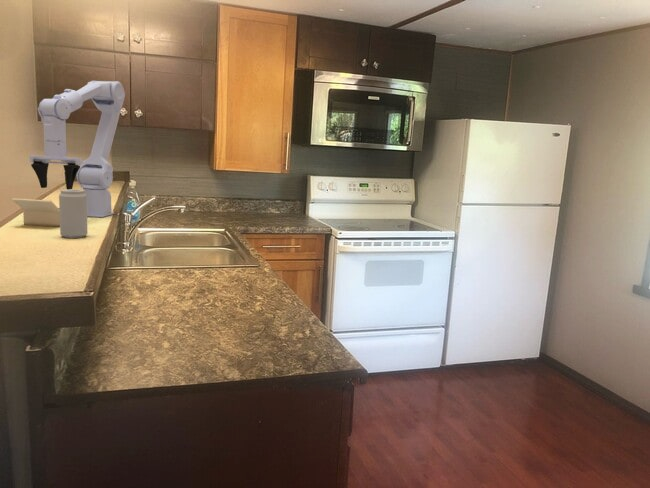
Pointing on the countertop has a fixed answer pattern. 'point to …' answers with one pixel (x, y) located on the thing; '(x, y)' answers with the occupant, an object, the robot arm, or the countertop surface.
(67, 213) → the beverage can
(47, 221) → the carton
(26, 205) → the flap
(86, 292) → the countertop surface
